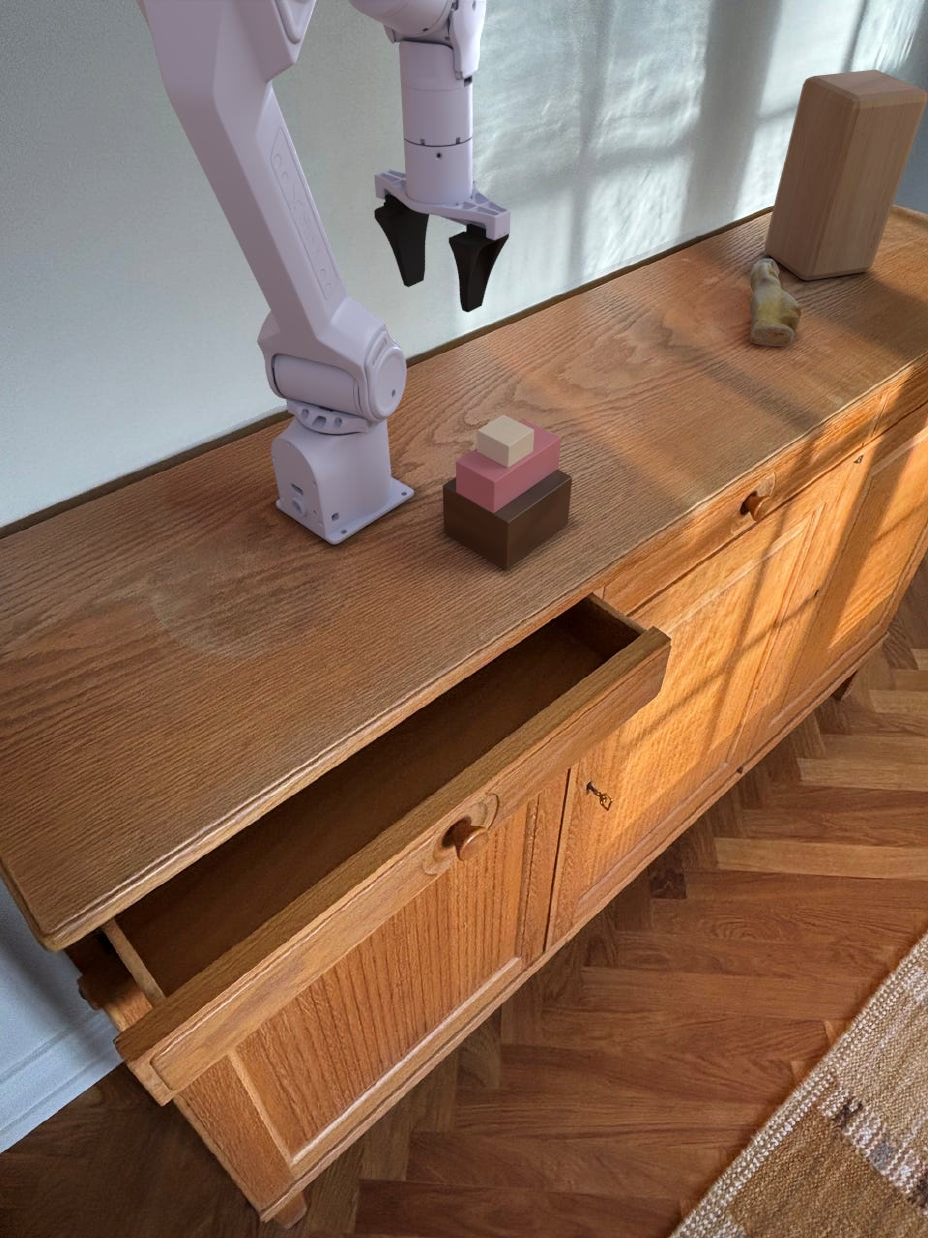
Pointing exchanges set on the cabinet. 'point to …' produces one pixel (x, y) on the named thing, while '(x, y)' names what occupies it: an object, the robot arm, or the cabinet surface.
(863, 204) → the block
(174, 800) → the cabinet surface
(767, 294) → the figurine
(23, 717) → the cabinet surface
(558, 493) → the walnut block
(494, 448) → the pink toy brick
